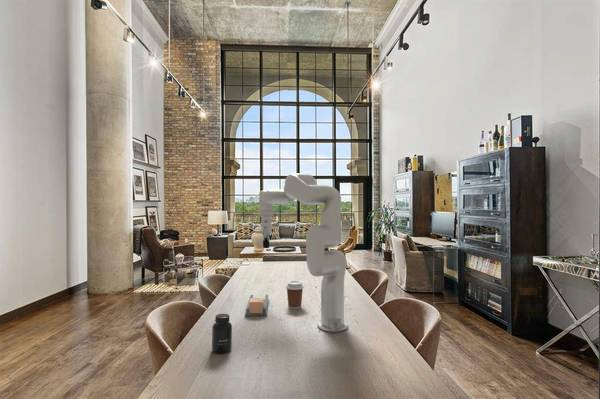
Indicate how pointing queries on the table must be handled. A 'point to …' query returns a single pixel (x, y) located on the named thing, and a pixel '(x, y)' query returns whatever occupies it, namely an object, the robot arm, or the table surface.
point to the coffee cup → (294, 294)
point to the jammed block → (256, 305)
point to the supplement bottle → (221, 334)
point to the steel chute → (265, 308)
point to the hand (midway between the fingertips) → (266, 247)
